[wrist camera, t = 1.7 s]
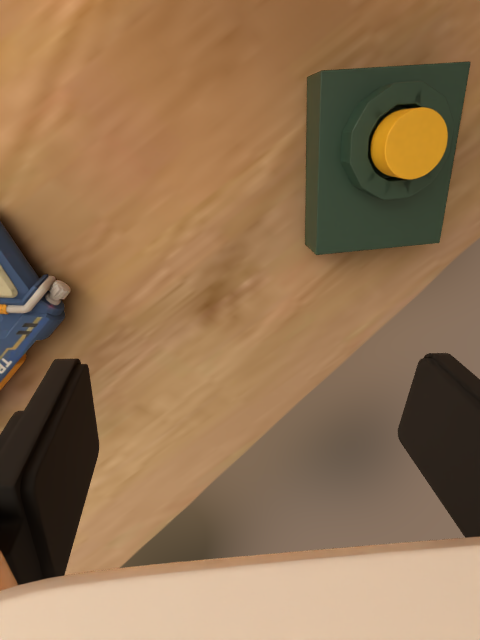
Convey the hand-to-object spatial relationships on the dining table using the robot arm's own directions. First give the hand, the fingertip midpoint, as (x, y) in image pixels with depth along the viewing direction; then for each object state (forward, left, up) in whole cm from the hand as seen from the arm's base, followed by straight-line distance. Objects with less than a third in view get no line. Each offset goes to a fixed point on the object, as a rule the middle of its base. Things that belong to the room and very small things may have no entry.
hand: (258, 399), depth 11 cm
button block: (-9, +9, -22) cm, 26 cm away
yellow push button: (-11, +8, -18) cm, 22 cm away
